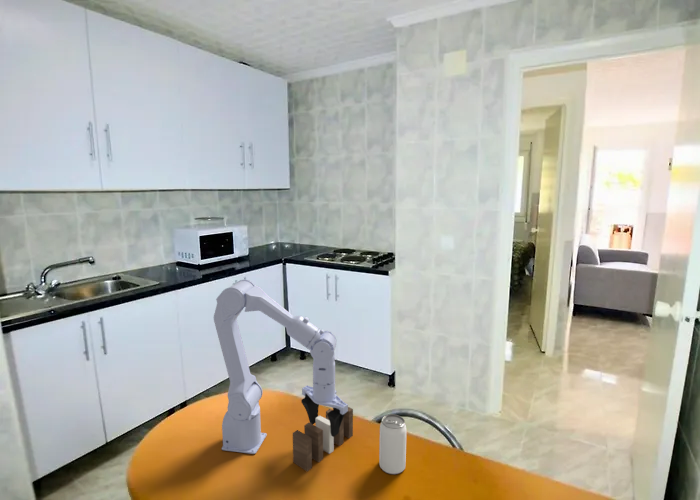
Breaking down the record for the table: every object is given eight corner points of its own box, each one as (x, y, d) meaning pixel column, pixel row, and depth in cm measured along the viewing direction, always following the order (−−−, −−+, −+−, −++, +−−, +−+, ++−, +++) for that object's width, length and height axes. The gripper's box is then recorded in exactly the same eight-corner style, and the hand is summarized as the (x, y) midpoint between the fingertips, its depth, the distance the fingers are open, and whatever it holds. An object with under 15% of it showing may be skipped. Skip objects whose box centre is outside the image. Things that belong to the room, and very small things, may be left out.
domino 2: (318, 462, 92) (318, 433, 91) (304, 453, 95) (304, 425, 94) (323, 459, 93) (322, 430, 92) (309, 450, 96) (308, 422, 95)
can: (404, 477, 87) (406, 430, 85) (377, 473, 88) (378, 427, 86) (406, 458, 93) (407, 414, 91) (380, 454, 94) (381, 411, 93)
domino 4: (339, 446, 98) (339, 418, 97) (325, 438, 101) (325, 411, 100) (343, 442, 99) (343, 415, 98) (329, 435, 102) (329, 408, 101)
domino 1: (307, 471, 89) (306, 441, 87) (293, 462, 92) (292, 433, 91) (311, 468, 90) (311, 438, 89) (297, 458, 93) (297, 429, 92)
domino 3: (329, 453, 95) (329, 425, 94) (315, 445, 98) (315, 418, 97) (333, 450, 96) (333, 422, 95) (320, 442, 99) (319, 415, 98)
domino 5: (349, 438, 101) (349, 411, 100) (335, 431, 104) (335, 405, 103) (352, 435, 102) (352, 408, 101) (339, 428, 105) (339, 402, 104)
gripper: (355, 383, 93) (355, 432, 95) (314, 366, 102) (315, 411, 104) (337, 394, 87) (337, 446, 89) (295, 375, 96) (296, 423, 98)
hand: (324, 428), depth 96 cm, fingers open, 7 cm apart
